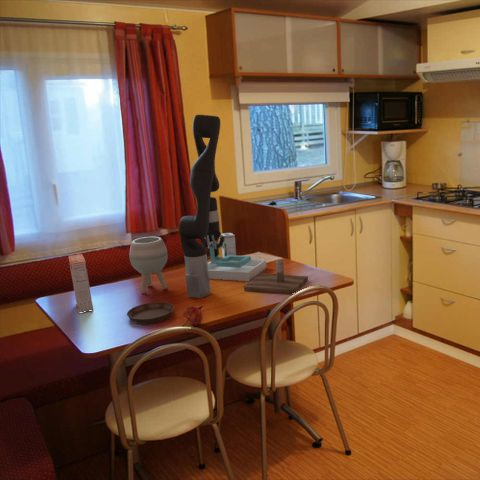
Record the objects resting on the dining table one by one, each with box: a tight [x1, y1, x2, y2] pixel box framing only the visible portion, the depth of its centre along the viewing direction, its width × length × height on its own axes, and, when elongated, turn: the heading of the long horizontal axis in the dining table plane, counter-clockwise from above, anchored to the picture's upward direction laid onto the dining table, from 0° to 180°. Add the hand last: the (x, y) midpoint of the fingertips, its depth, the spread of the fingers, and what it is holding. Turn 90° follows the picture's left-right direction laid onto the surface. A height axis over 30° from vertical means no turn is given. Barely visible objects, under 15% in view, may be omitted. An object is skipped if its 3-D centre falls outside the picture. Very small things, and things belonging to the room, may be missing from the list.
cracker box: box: [68, 253, 94, 313], centre depth 219 cm, size 14×6×21 cm, turn 21°
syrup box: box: [221, 232, 237, 257], centre depth 269 cm, size 6×6×14 cm
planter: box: [128, 236, 168, 295], centre depth 235 cm, size 16×16×22 cm
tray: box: [208, 258, 267, 282], centre depth 252 cm, size 20×26×4 cm
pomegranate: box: [182, 305, 204, 327], centre depth 194 cm, size 7×7×10 cm
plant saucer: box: [126, 301, 175, 325], centre depth 205 cm, size 18×18×3 cm
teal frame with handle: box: [209, 244, 252, 268], centre depth 251 cm, size 12×17×8 cm
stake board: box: [243, 259, 309, 295], centre depth 228 cm, size 18×22×11 cm
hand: (214, 256), depth 255 cm, fingers closed on teal frame with handle
